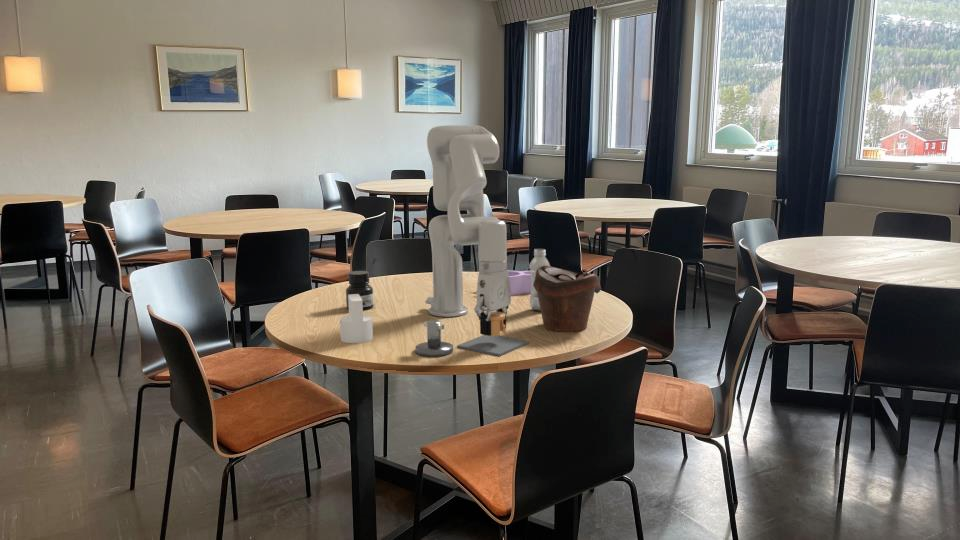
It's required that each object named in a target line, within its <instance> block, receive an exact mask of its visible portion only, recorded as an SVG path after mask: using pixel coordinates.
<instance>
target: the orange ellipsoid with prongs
mask: <svg viewBox="0 0 960 540" xmlns="http://www.w3.org/2000/svg"><path fill="white" fill-rule="evenodd" d="M484 313H485V314H487V312H486V311H484ZM504 319H505V313H503V312H497V311H496V310H495V311H491V315H490V319H489V321H491V335H489V336H501V333H503V334H506V332H507V330H506V329H507V325H506V326H505V324H504ZM487 336H488V335H487Z"/></svg>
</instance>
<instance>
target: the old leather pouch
mask: <svg viewBox="0 0 960 540" xmlns="http://www.w3.org/2000/svg"><path fill="white" fill-rule="evenodd" d="M533 286H534V288H535V290H536V291H537V295H538V299H539V304H540V309H541V311H540V313H541V318H542V323H543V326H544V328H545V329H546V330H549V331H550V330H551V331H553V332H561V333H562V332H563V333H565V332H566V333H569V332H570V333H571V332H573V333H574V332H580V331H583V330H585V329H587V327H588V322H589V318H590V313H591V310H592V304H593V301H594V295H595V294H598V293H600V292H601V290H602V288H601V284H600V279H599V277H598V276H597V274H595V273H591V274H589V272H588V271H586V270H581V271H579V272H574V271H570V270H566V269H563V268H558V267H554V266H551V265H550V266H546V265H543V266H540V267H539V268H538V269H537V271H536V276H535V280H534V283H533Z"/></svg>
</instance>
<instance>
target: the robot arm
mask: <svg viewBox="0 0 960 540" xmlns="http://www.w3.org/2000/svg"><path fill="white" fill-rule="evenodd" d="M426 145H427V151H428V154H429V158H430V160H431V165H432V196H433V197H432V199H433V206H434V207H435V209H436V210H438V211H443V212H447V214H442V215H437V216H435V217H433V218H431V220H430V221H429V223H428V235H429V239H430V244H431V245H430V246H431V256H432V257H431V260H432V261H431V262H432V289H433V290H432V293H433V295H432V296H433V297H432V296H428V297H427V298H426V299H425V304H428V305H430V308H429V309H428V314H430V315H432V316H435V317H443V318H447V317H448V318H450V317H451V318H453V317H458V316H459V317H461V316H464V315H466V314H467V313H468V312H469V310H468V307H467V306H464V294H463V293H464V292H463V291H464V290H463V289H464V288H463V287H464V285H463V283H464V282H463V258H462V256H461V254H460V252H459V251H458V250H457V249H456V248H455V246H456V245H459V246H471V245H472V246H475V245H477V246H478V247H477V248H478V250H477V251H478V253H477V254H478V256H477V257H478V277H477V286H476V304H475V306H474V309H473V310H474V313H476V316H477V317H478V320H479V325H480V326H479V331H480V332H479V333H480V335H488V336H489V335H491V321H489V319H490V315H491V311H497V312H503V313H505V319H504V324H505V326H506V327H507V314H508V309H509V306H510V304H511V301H512V297H511V296H512V295H511V293H510V281H509V274H508V265H507V264H508V263H507V262H508V258H507V257H508V255H507V254H508V251H507V248H508V247H507V245H508V244H507V241H508V240H507V239H508V238H507V234H508V233H507V223H506V221H504V220H501V219H499V218H497V217H496V216H484V214H485V211H484V209H485V207H484V206H485V203H484V202H485V200H484V199H485V196H484V188H486V186H487V183H488V182H487V177H486V173H485V168H484V164H485V165H486V164H487V165H488V164H495V163H496V162H498V160H499V158H500V146H499V142H498V140H497V138H496V137H495V135H494V134H493V133H492V132H491V131H489V130H488V129H486V128H485V127H484V126H481V125H474V124H473V125H471V124H470V125H463V124H462V125H458V124H457V125H455V124H454V125H453V124H451V125H446V124H445V125H437V126H434V127H432V128H430V129H429V131H428V133H427V137H426ZM460 211H466V212H467V213H463V214H462V213H461V212H460ZM484 312H487V314H485V313H484Z"/></svg>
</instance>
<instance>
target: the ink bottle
mask: <svg viewBox="0 0 960 540" xmlns="http://www.w3.org/2000/svg"><path fill="white" fill-rule="evenodd" d="M347 275H348V276H347V278H348V284H349V285H348V287H346V289H345V300H346V301H345V302H346V303H345V304H346V309H348V310H349V304H348V295H350V294H359V295H360V297H361V299H362V304H363V311H365V310H369V309H372V308H373V307H374V289H373V287H372V286H371V285H370V272H369V271H366V270H354V271H349V272H348V274H347Z"/></svg>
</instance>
